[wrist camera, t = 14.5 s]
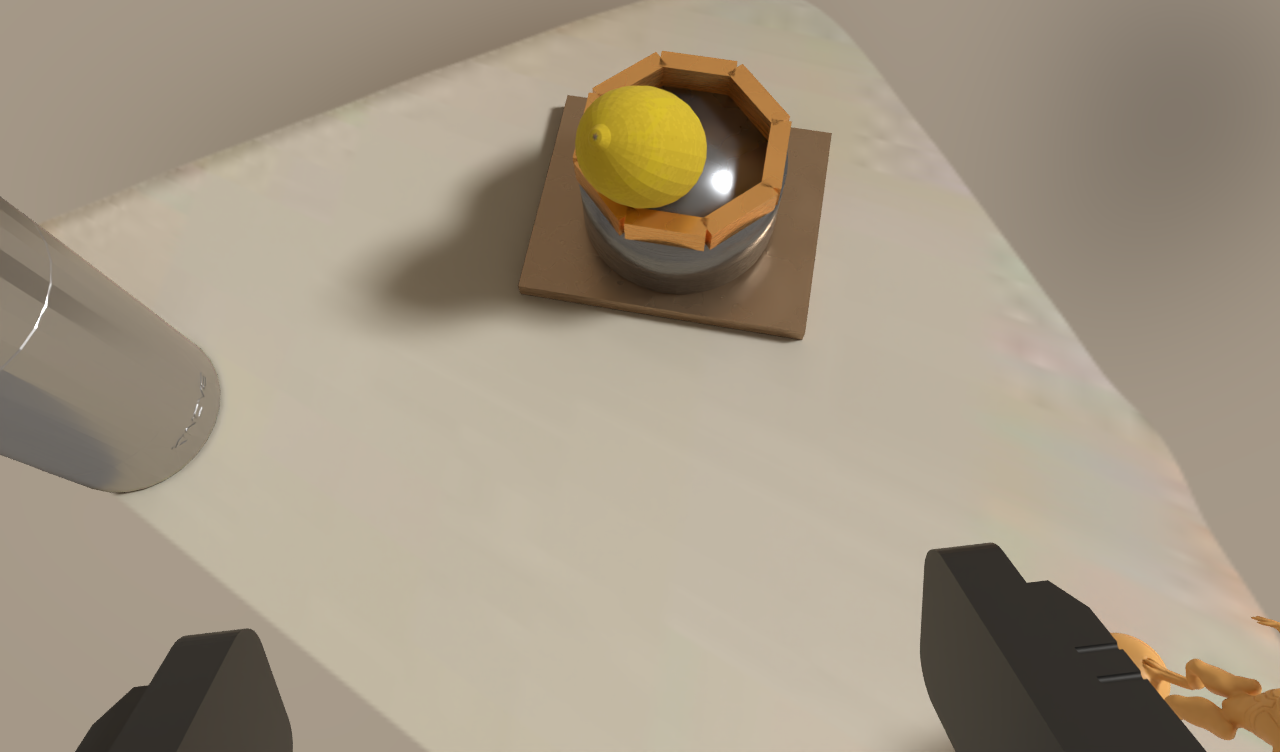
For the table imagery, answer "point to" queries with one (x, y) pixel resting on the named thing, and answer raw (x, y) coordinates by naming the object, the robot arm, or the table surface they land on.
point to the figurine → (1245, 707)
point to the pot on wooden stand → (691, 212)
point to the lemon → (641, 146)
